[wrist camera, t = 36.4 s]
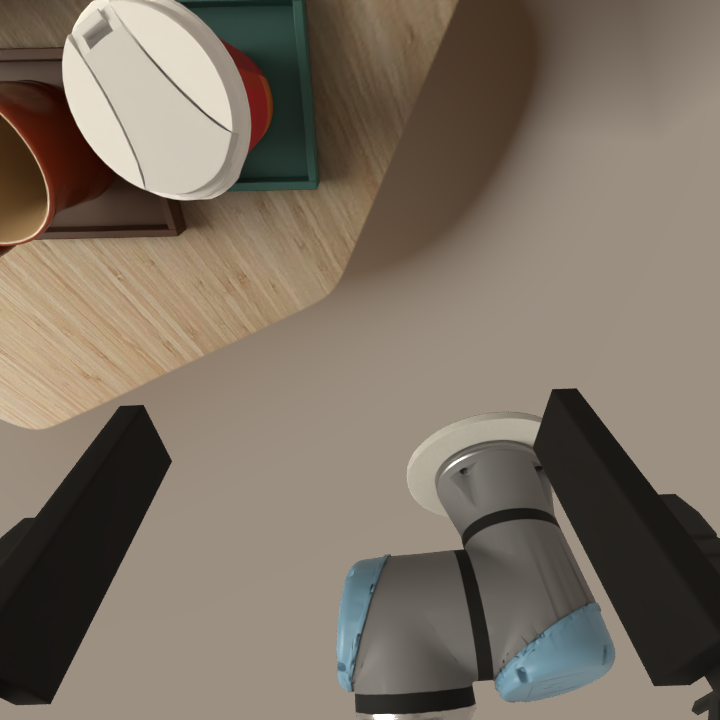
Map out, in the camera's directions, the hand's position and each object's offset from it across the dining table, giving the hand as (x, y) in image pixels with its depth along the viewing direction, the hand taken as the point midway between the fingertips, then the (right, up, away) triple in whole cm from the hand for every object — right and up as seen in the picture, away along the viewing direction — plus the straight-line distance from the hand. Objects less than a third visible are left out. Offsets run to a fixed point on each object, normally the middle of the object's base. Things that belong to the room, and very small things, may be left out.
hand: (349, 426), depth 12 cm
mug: (-22, +18, +17) cm, 33 cm away
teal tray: (-9, +21, +15) cm, 27 cm away
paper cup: (-9, +21, +15) cm, 27 cm away
